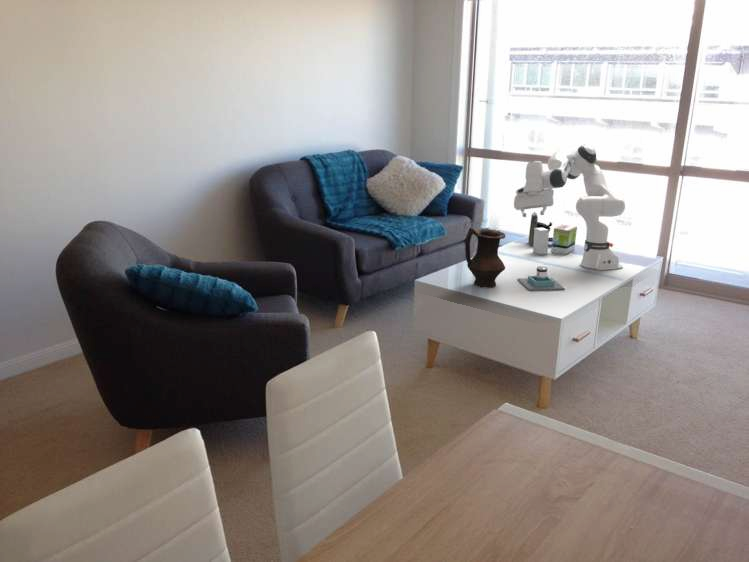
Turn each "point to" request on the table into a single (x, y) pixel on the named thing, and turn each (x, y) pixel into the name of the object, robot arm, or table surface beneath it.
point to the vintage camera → (537, 225)
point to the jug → (485, 256)
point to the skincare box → (541, 241)
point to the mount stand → (540, 284)
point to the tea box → (564, 239)
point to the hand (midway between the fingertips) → (533, 215)
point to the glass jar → (541, 274)
